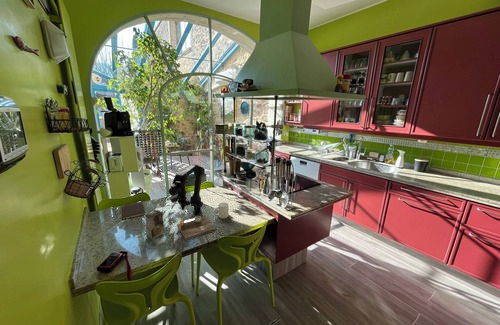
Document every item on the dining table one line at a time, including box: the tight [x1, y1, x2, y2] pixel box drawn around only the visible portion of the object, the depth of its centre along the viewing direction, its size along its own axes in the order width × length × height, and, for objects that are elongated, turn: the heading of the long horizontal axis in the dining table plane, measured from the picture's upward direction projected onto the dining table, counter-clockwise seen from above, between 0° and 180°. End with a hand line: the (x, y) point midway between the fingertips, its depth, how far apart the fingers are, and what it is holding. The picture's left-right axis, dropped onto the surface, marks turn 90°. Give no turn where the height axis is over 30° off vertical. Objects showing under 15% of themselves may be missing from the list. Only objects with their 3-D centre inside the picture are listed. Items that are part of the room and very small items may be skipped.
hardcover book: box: [121, 201, 146, 220], centre depth 171 cm, size 16×23×2 cm
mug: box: [213, 202, 230, 219], centre depth 164 cm, size 12×8×10 cm
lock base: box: [176, 216, 216, 241], centre depth 148 cm, size 20×22×2 cm
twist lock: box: [179, 215, 202, 228], centre depth 150 cm, size 15×5×4 cm, turn 124°
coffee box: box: [144, 209, 165, 240], centre depth 138 cm, size 9×6×16 cm
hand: (182, 209), depth 150 cm, fingers closed
